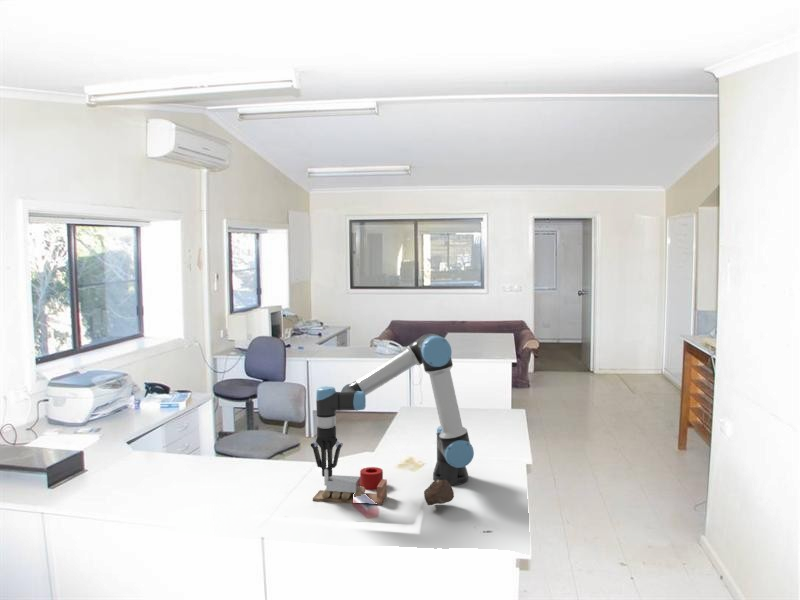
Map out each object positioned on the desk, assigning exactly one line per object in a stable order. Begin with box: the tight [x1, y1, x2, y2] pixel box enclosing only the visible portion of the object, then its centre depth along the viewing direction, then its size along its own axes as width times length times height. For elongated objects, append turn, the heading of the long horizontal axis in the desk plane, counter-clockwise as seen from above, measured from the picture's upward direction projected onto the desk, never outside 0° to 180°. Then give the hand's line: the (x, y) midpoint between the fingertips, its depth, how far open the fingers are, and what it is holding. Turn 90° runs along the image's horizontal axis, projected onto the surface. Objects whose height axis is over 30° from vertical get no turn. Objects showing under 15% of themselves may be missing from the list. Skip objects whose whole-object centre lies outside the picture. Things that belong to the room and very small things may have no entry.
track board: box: [312, 478, 388, 506], centre depth 244 cm, size 28×9×7 cm, turn 79°
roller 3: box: [354, 486, 366, 497], centre depth 243 cm, size 8×3×3 cm
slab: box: [325, 474, 361, 493], centre depth 244 cm, size 12×7×4 cm, turn 79°
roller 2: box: [342, 492, 353, 500], centre depth 244 cm, size 8×3×3 cm
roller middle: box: [332, 491, 343, 499], centre depth 245 cm, size 8×3×3 cm
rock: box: [423, 480, 455, 506], centre depth 237 cm, size 12×10×10 cm
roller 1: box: [322, 488, 333, 499], centre depth 246 cm, size 8×3×3 cm
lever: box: [359, 466, 384, 491], centre depth 263 cm, size 18×9×7 cm, turn 18°
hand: (327, 484), depth 246 cm, fingers closed
